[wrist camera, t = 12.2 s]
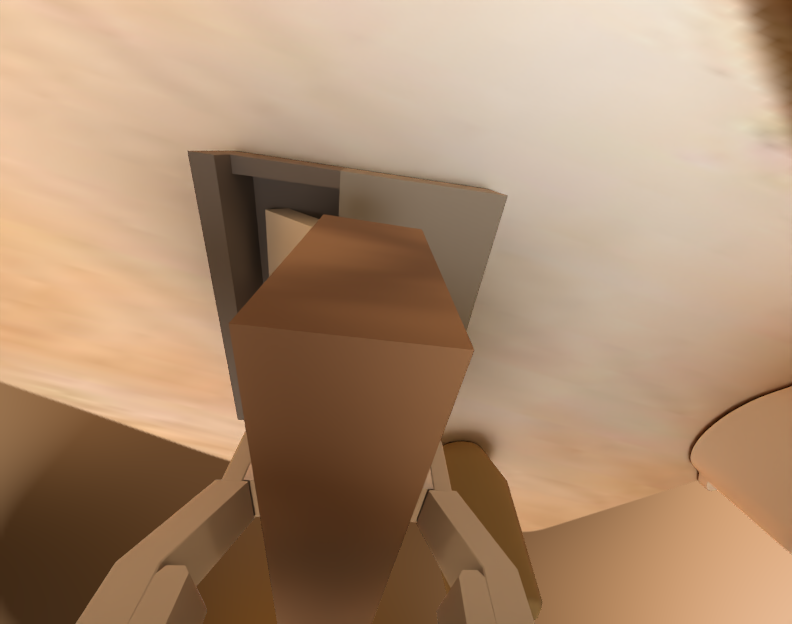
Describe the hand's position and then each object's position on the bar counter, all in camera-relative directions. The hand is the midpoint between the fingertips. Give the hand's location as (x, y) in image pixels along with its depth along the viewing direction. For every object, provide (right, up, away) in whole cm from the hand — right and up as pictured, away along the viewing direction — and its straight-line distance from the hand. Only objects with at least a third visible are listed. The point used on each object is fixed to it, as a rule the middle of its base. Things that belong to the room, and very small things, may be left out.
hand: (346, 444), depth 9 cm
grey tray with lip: (-1, +5, +11) cm, 12 cm away
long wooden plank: (0, +2, +3) cm, 3 cm away
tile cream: (-3, +8, +7) cm, 11 cm away
